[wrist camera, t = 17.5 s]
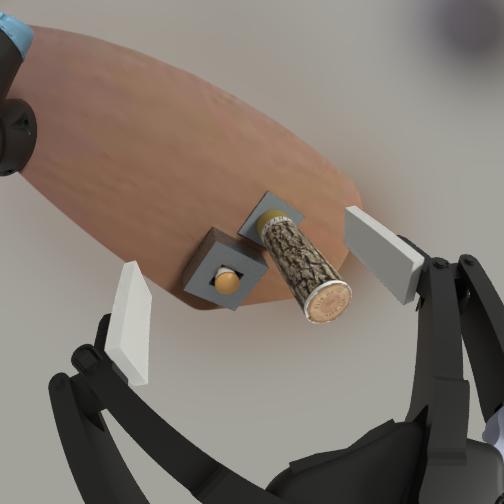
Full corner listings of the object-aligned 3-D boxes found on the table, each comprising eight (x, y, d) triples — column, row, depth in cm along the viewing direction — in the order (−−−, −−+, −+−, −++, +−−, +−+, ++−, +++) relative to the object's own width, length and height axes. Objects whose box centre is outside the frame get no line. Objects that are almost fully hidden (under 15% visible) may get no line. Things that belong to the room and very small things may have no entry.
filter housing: (182, 272, 56) (183, 290, 51) (212, 226, 52) (216, 240, 47) (229, 293, 61) (234, 311, 56) (260, 252, 58) (269, 267, 53)
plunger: (206, 269, 56) (210, 289, 50) (218, 251, 54) (223, 270, 49) (225, 277, 58) (231, 297, 52) (237, 261, 57) (244, 280, 51)
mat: (237, 232, 54) (238, 232, 54) (267, 190, 51) (268, 191, 51) (275, 252, 59) (276, 253, 59) (304, 215, 56) (305, 216, 56)
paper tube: (293, 226, 56) (357, 302, 35) (267, 245, 57) (317, 331, 36) (277, 201, 53) (342, 272, 32) (249, 222, 53) (296, 305, 32)
